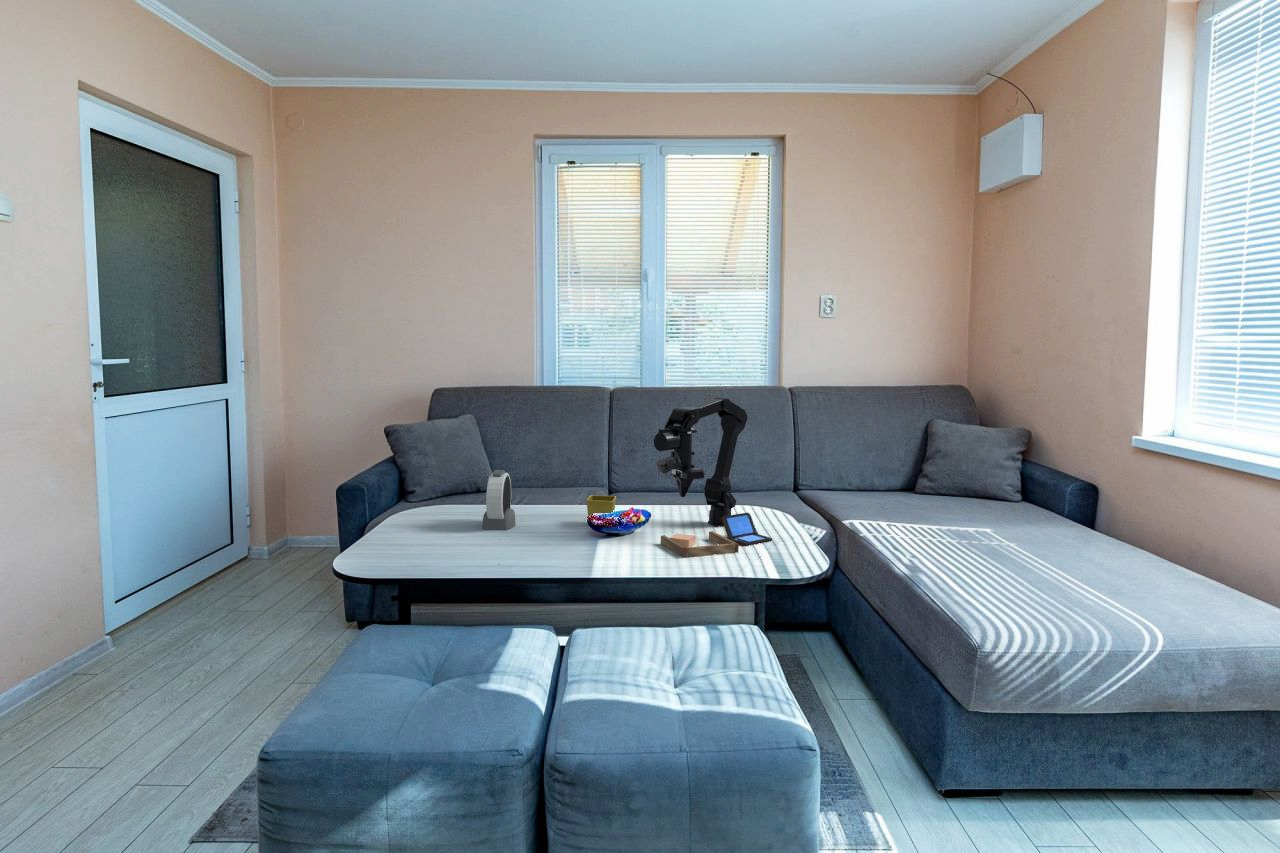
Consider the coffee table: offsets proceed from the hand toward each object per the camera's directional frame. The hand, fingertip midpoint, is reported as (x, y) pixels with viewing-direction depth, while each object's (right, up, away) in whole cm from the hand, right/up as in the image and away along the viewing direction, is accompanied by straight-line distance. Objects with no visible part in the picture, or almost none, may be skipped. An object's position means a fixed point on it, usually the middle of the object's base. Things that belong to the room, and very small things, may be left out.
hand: (682, 496), depth 247 cm
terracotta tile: (-1, -14, -14) cm, 20 cm away
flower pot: (-26, -10, +11) cm, 30 cm away
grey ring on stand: (-59, -10, +7) cm, 61 cm away
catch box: (+4, -13, -17) cm, 22 cm away
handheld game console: (+19, -13, -7) cm, 24 cm away
